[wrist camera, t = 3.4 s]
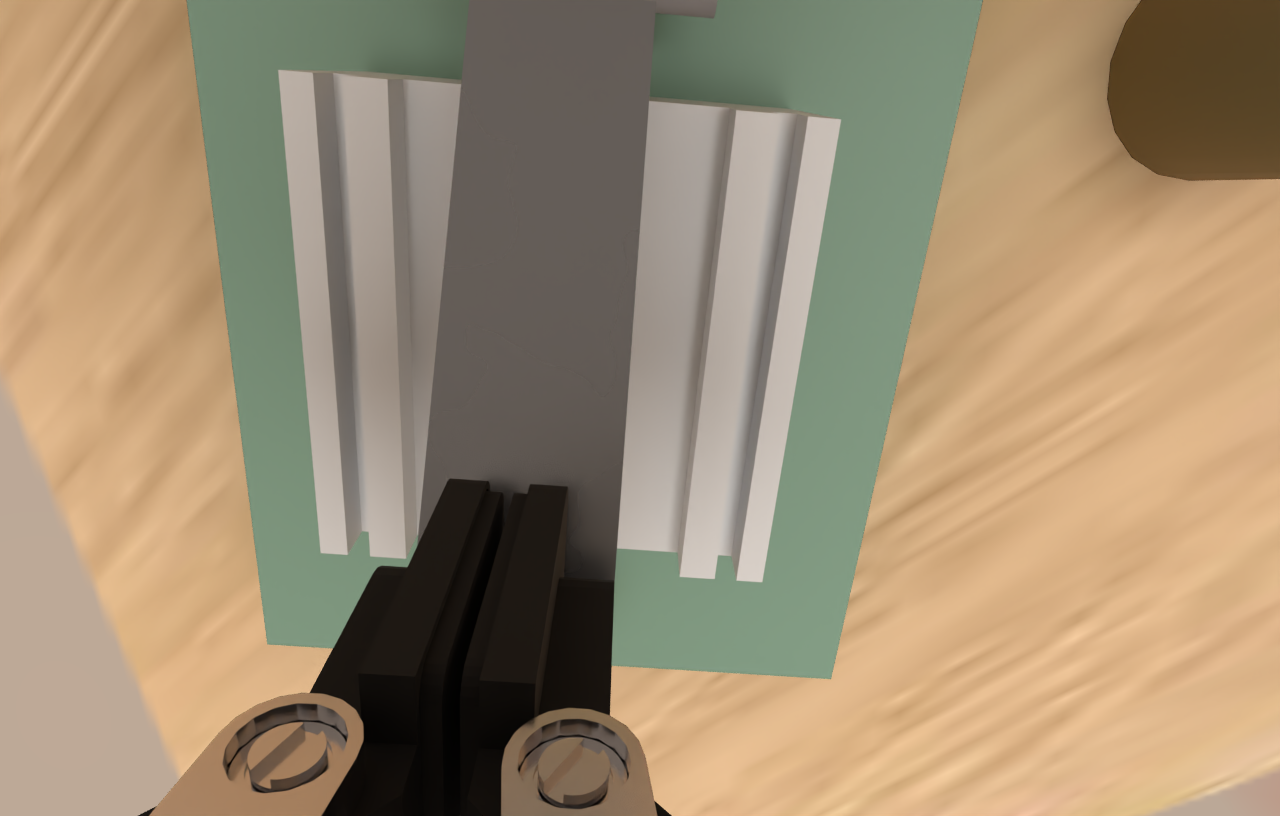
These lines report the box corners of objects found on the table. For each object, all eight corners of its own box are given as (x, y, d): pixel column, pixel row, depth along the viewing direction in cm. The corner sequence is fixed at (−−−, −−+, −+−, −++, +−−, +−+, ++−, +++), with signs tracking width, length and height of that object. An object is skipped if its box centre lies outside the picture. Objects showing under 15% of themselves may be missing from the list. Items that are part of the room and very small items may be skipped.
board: (219, -269, 18) (-93, -528, 10) (977, -191, 19) (1218, -379, 11) (304, 587, 28) (172, 790, 20) (811, 620, 28) (879, 828, 20)
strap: (482, 27, 14) (464, -41, 12) (651, 41, 14) (658, -22, 12) (409, 812, 13) (376, 867, 11) (596, 823, 13) (594, 879, 11)
